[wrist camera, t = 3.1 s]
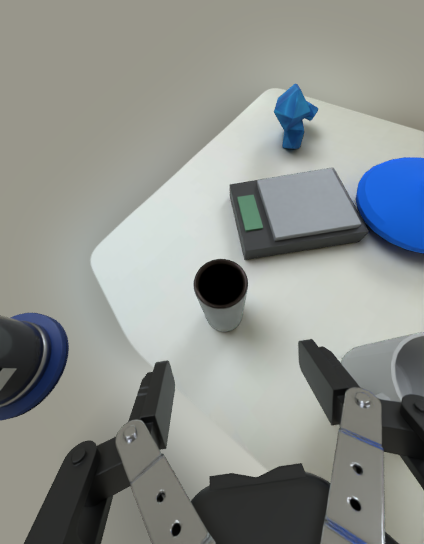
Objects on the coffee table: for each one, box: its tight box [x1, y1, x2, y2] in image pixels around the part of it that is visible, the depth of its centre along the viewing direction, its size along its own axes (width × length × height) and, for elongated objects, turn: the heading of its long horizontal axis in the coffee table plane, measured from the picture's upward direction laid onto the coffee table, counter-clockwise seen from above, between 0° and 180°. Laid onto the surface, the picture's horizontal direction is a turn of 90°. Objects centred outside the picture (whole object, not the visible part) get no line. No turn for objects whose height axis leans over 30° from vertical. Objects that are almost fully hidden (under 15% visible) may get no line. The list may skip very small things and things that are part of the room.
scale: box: [230, 168, 369, 260], centre depth 31 cm, size 16×12×3 cm
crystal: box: [274, 84, 318, 148], centre depth 36 cm, size 7×9×12 cm
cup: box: [341, 332, 424, 402], centre depth 19 cm, size 7×10×9 cm
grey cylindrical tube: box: [194, 259, 248, 332], centre depth 23 cm, size 4×4×10 cm
